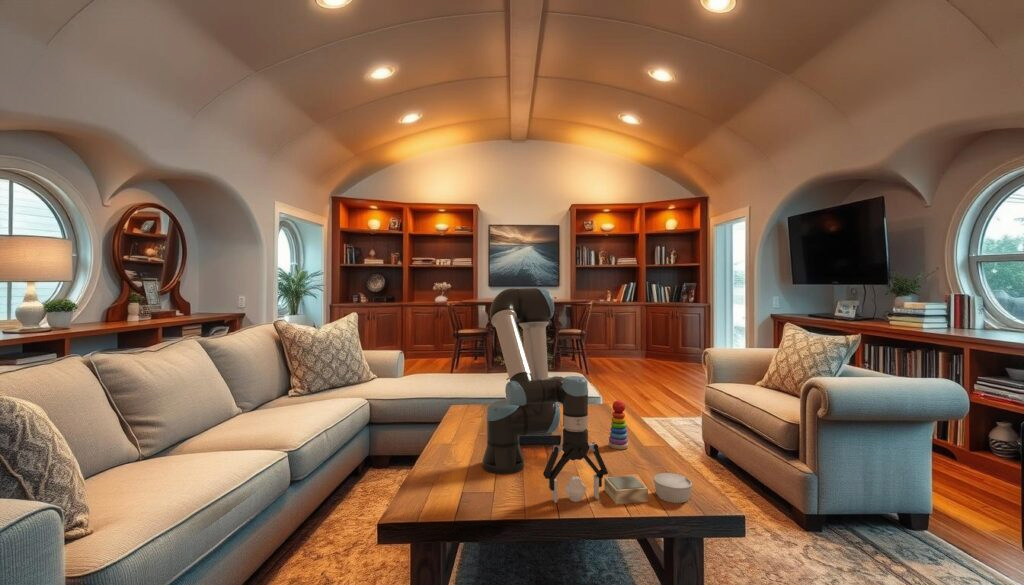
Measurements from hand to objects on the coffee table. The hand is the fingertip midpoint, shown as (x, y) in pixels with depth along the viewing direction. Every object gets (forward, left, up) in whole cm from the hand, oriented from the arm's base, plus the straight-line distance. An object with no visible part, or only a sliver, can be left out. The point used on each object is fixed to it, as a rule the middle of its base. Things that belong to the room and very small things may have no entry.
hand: (575, 499), depth 141 cm
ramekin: (+30, -3, 0) cm, 30 cm away
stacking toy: (+31, +43, 0) cm, 53 cm away
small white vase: (0, 0, 0) cm, 0 cm away
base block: (+16, 0, 0) cm, 16 cm away
